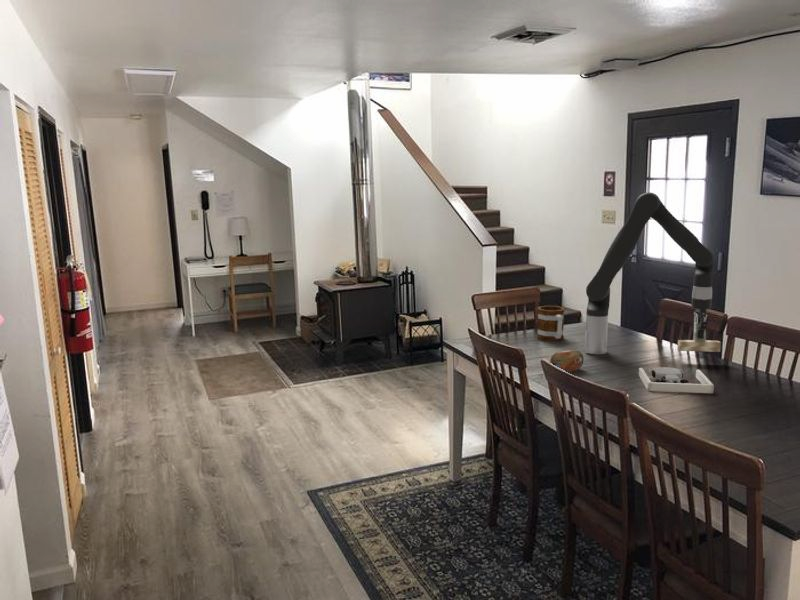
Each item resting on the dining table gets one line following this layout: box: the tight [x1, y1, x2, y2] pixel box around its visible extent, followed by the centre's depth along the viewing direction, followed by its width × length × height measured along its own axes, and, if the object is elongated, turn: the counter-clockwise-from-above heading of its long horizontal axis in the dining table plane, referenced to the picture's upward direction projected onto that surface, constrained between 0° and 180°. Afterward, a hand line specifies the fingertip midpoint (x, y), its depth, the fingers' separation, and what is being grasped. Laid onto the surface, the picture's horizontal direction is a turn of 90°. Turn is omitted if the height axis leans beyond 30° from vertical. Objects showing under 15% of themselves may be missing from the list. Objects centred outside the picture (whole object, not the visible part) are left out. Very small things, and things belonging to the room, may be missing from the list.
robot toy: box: [648, 366, 692, 384], centre depth 243 cm, size 12×4×15 cm
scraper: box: [677, 321, 722, 353], centre depth 267 cm, size 16×3×12 cm, turn 79°
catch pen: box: [638, 367, 715, 394], centre depth 242 cm, size 22×19×3 cm
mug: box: [536, 305, 565, 342], centre depth 310 cm, size 20×14×15 cm
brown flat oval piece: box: [549, 349, 584, 373], centre depth 261 cm, size 15×3×8 cm, turn 112°
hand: (699, 337), depth 267 cm, fingers closed on scraper, 3 cm apart
